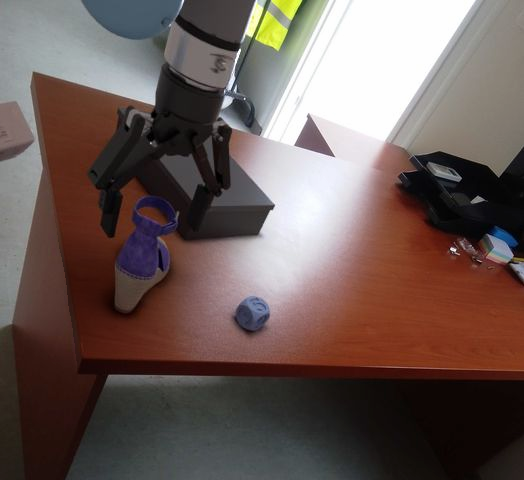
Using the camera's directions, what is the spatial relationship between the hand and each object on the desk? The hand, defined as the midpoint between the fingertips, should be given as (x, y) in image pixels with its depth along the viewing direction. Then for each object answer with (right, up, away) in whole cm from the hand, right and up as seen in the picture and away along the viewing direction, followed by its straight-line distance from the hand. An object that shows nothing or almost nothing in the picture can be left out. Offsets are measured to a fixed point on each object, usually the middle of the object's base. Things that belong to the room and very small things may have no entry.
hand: (152, 229), depth 65 cm
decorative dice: (+13, -13, +9) cm, 21 cm away
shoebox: (0, +16, +28) cm, 32 cm away
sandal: (-4, -6, +6) cm, 9 cm away
